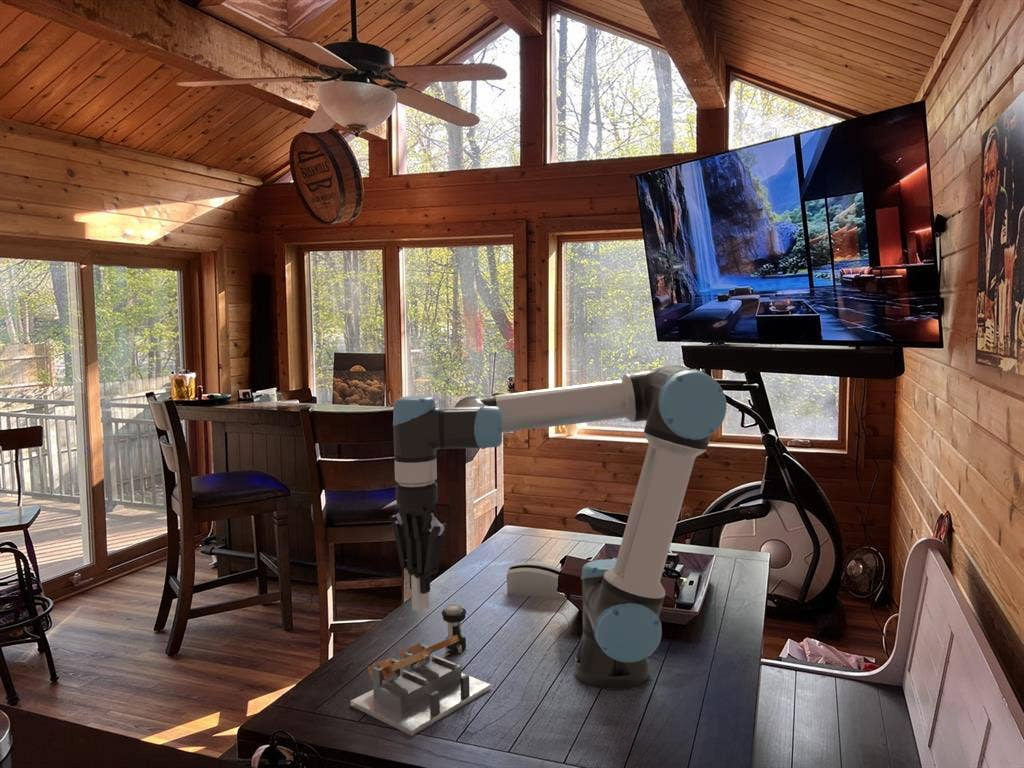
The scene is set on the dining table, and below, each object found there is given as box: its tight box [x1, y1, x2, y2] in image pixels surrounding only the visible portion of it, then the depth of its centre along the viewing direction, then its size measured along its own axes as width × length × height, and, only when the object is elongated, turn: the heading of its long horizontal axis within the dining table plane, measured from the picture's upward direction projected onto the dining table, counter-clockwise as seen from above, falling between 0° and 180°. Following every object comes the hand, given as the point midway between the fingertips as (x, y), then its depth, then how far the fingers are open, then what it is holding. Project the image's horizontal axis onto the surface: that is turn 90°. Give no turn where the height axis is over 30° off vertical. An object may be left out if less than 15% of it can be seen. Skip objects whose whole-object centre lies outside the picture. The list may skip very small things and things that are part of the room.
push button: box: [441, 603, 467, 657], centre depth 167 cm, size 7×5×10 cm
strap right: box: [397, 635, 459, 665], centre depth 152 cm, size 16×3×3 cm, turn 49°
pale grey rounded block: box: [506, 562, 567, 601], centre depth 200 cm, size 17×5×10 cm, turn 69°
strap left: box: [366, 649, 429, 682], centre depth 146 cm, size 16×3×3 cm, turn 49°
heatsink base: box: [350, 643, 492, 737], centre depth 148 cm, size 17×21×7 cm
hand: (420, 608), depth 140 cm, fingers closed
